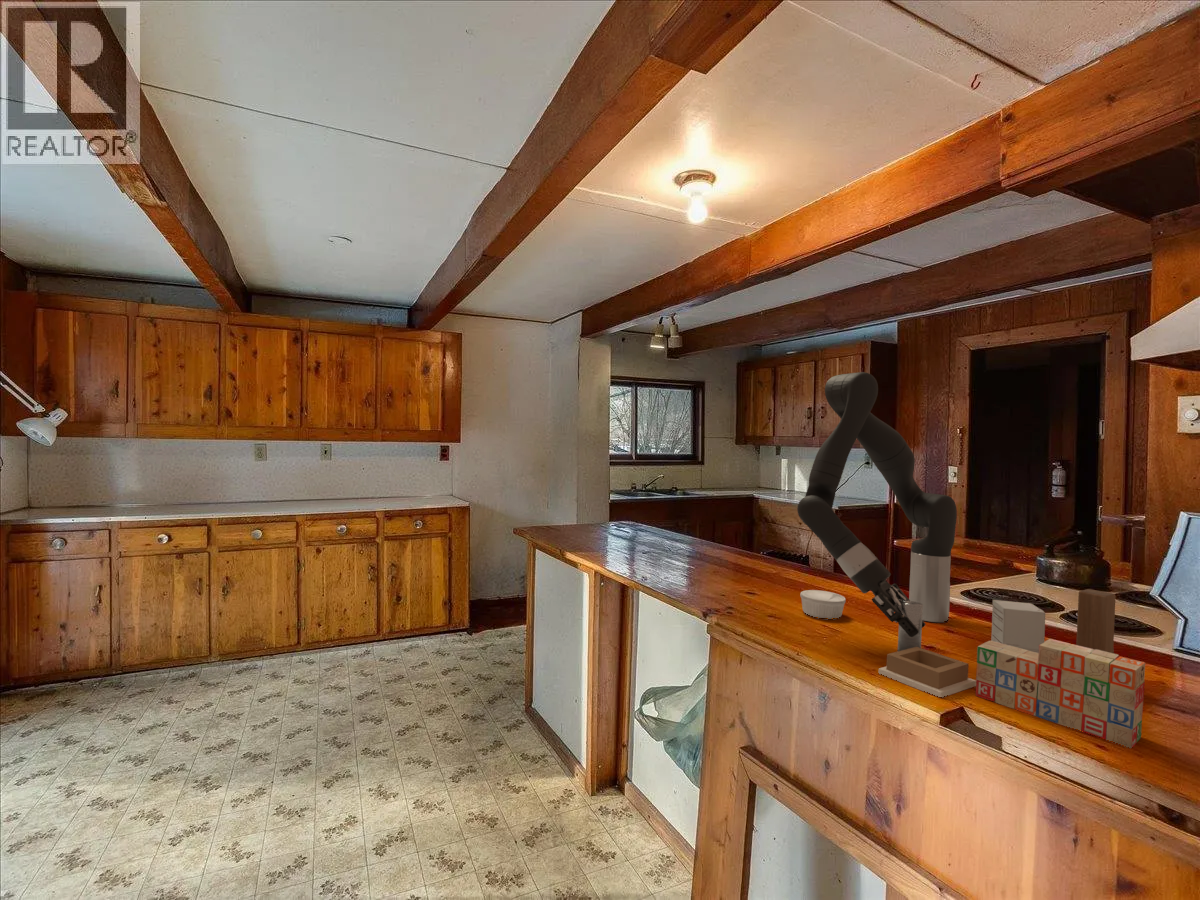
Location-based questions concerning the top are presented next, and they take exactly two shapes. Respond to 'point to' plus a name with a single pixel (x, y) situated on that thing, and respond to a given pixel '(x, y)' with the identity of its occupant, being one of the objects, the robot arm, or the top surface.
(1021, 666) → the stack of blocks
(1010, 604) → the supplement box
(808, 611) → the ramekin
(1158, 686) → the top surface
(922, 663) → the cradle
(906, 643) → the axle
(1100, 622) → the wooden block
